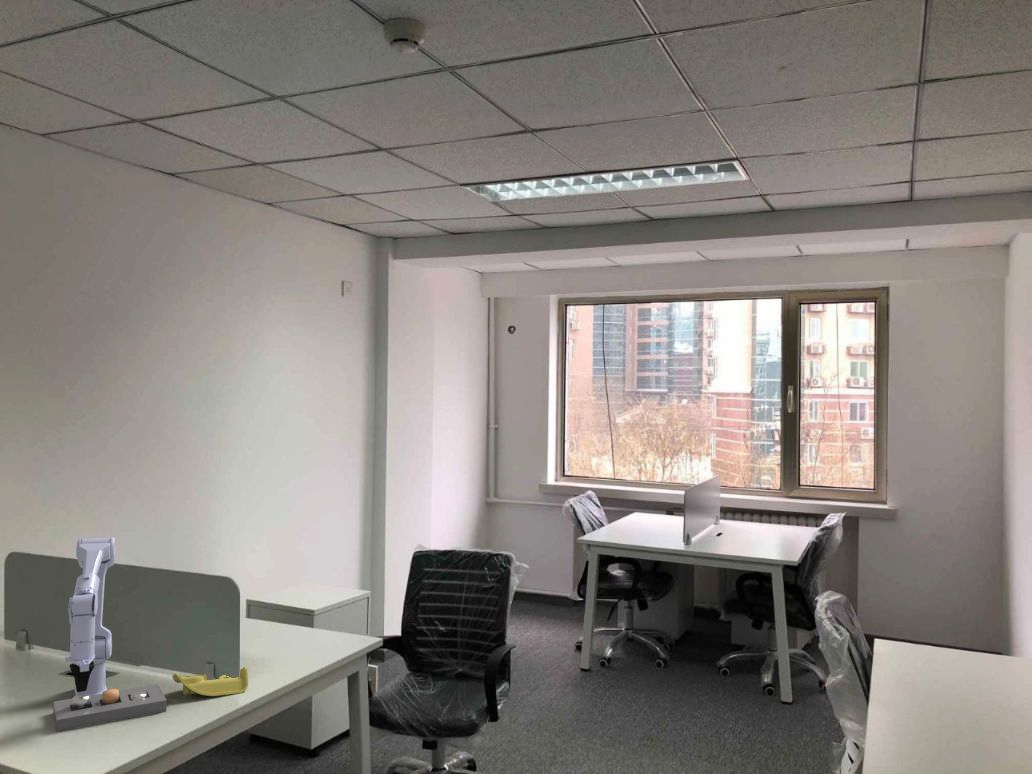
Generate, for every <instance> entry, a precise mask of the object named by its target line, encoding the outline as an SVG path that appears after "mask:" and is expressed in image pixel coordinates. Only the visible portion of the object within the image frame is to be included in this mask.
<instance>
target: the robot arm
mask: <svg viewBox="0 0 1032 774" xmlns="http://www.w3.org/2000/svg"><path fill="white" fill-rule="evenodd" d="M116 541H117V540H116V538H115V537H114V536H111V537H94V538H93V537H91V538H89V537H87V538H82V537H79V539H78V540H77V542H76V550H75V551H76V552H75V553H76V554H75V555H76V558H77V562H78V563H77V564H78V565H79V568H81V569H82V574H80V575H79V576H78V577H77V578H76V582H75V586H74V591H73V596H72V597H69V600H68V607H67V609H68V617H69V619H68V620H69V625H70V637H69V639H70V641H69V643H70V644H69V645H70V647H69V656H67V657H64V662H65V663H69V662H70V664H69V669H70V672H71V673H72V674H73V677H74V684H75V687H73V691H74V696H76V695H79V694H89V695H96V694H102V692H103V691H105V690H108V687H107V684H106V678H107V677H106V676H107V675H106V671H107V670H106V669H107V667H106V666H107V660H110V658H111V656H112V650H113V639H112V638H113V637H112V635H113V634H112V632H111V630H110V629H108V628H107V627H105V626H103V614H104V612H103V611H104V600H105V599H104V597H105V595H104V594H105V582H106V575H107V571H108V569H109V568H111V567H113V566H114V565H115V561H116V550H117V542H116Z"/></svg>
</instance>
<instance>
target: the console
mask: <svg viewBox="0 0 1032 774" xmlns="http://www.w3.org/2000/svg"><path fill="white" fill-rule="evenodd" d="M135 692H146V693H147V698H143V699H137V700H131V694H132V693H135ZM167 701H168V700H167V698H166V696H165V694H164V693H163V691H162V689H161V687H160V685H159V684H158V683H156V684H151V685H144V686H138V687H133V688H126V689H122V690H120V689H119V700H118V701H116V702H114V703H103V702H102V694H96V695H90V705H89V706H87V707H85V708H80V709H75V708H73V698H68V699H63V700H62V699H61V700H57V701H53V703H52V704H53V707H52V708H53V709H52V710H53V711H52V712H53V720H54V725H55V726H54V727H55V730H56V732H62V731H67V730H73V729H79V728H83V727H89V726H95V725H100V724H106V723H110V722H111V723H112V722H117V721H121V720H127V719H131V718H137V717H138V718H139V717H143V716H148V715H153V714H158V713H164V712H167V706H168V705H167Z"/></svg>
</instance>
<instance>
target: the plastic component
mask: <svg viewBox="0 0 1032 774" xmlns="http://www.w3.org/2000/svg"><path fill="white" fill-rule="evenodd" d="M239 670H240V677H236V678H231V677H229V676H226V675H222V676H220V677H219V679H216V680H207V678H206V677H207V676H206V674H207V673H206V674H196V675H187V676H186V675H183V676H181V675H180V674H179V673H178V672H177V673H176V672H175V673H174V674H172V680H173V681H174V682H175V683H179V684H182V696H188V695H195V694H199V695H202V696H204V697H205V696H206V697H207V696H208V697H219V696H220V697H221V696H227V695H236V694H242V693H244V692H245V691H246V690H247V689H248V687H249V677H248V676H249V675H248V667H247V666H244V667H243V668H241V669H239Z"/></svg>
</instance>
